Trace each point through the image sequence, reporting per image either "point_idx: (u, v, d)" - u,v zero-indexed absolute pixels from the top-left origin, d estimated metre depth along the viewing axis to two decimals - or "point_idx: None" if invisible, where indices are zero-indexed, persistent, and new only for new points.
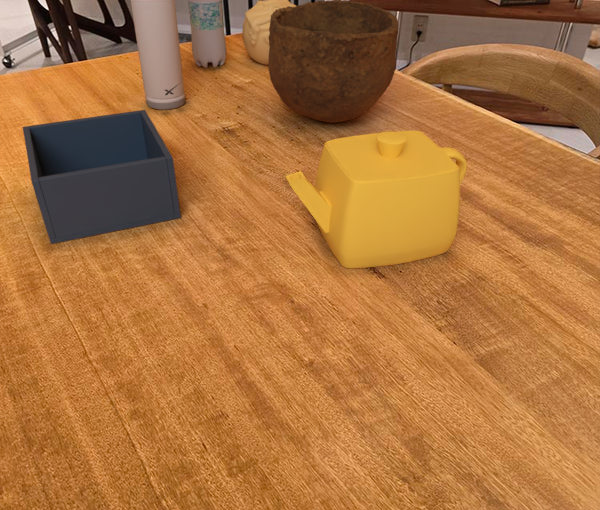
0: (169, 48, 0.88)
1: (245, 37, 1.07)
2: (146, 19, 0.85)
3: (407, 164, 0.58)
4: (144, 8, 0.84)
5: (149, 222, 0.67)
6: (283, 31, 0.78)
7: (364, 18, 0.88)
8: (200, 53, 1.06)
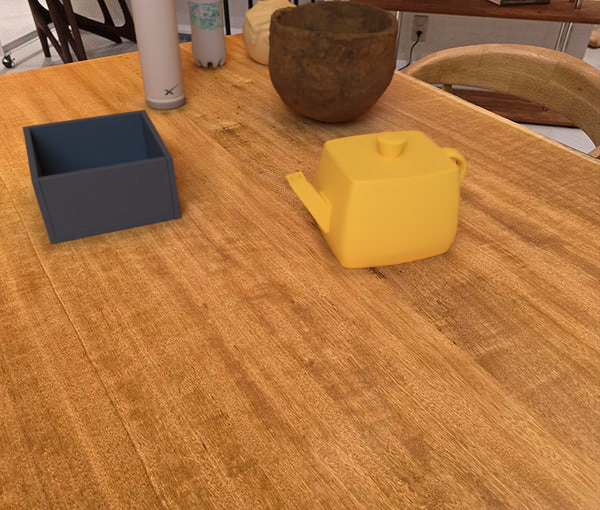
0: (169, 48, 0.88)
1: (245, 37, 1.07)
2: (146, 19, 0.85)
3: (407, 164, 0.58)
4: (144, 8, 0.84)
5: (149, 222, 0.67)
6: (283, 31, 0.78)
7: (364, 18, 0.88)
8: (200, 53, 1.06)
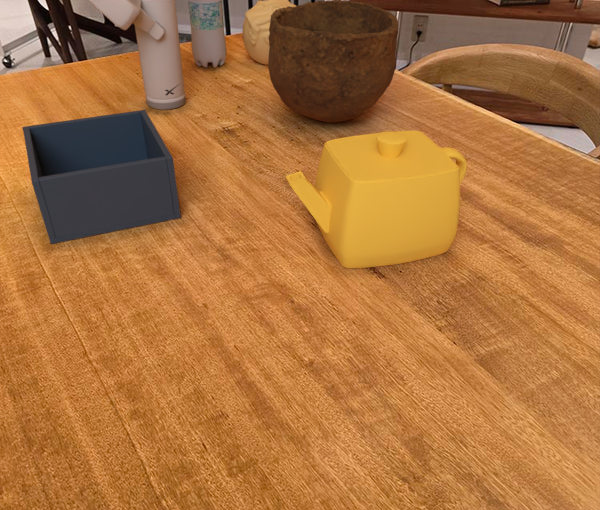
0: (170, 48, 0.88)
1: (245, 37, 1.07)
2: None
3: (407, 164, 0.58)
4: (144, 8, 0.84)
5: (149, 222, 0.67)
6: (283, 31, 0.78)
7: (364, 18, 0.88)
8: (200, 53, 1.06)
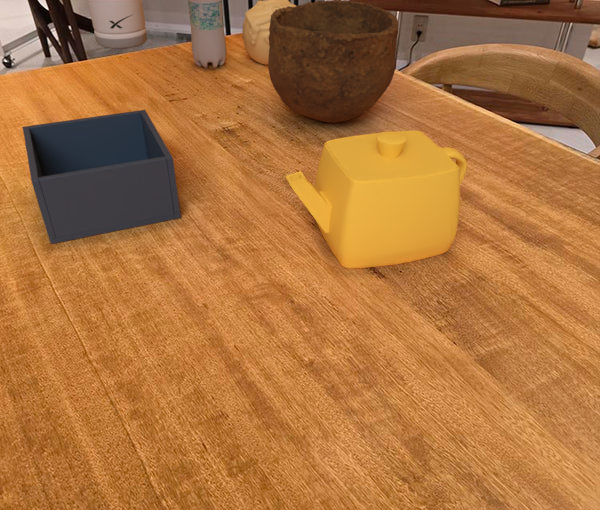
0: None
1: (245, 37, 1.07)
2: None
3: (407, 164, 0.58)
4: None
5: (149, 222, 0.67)
6: (283, 31, 0.78)
7: (364, 18, 0.88)
8: (200, 53, 1.06)
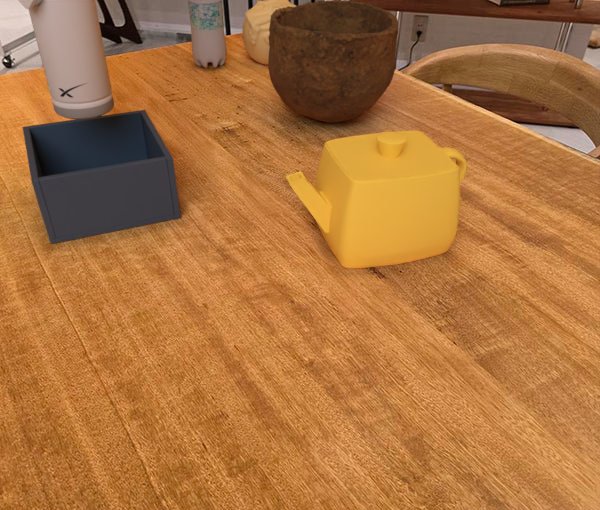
0: (60, 26, 0.56)
1: (245, 37, 1.07)
2: None
3: (407, 164, 0.58)
4: None
5: (149, 222, 0.67)
6: (283, 31, 0.78)
7: (364, 18, 0.88)
8: (200, 53, 1.06)
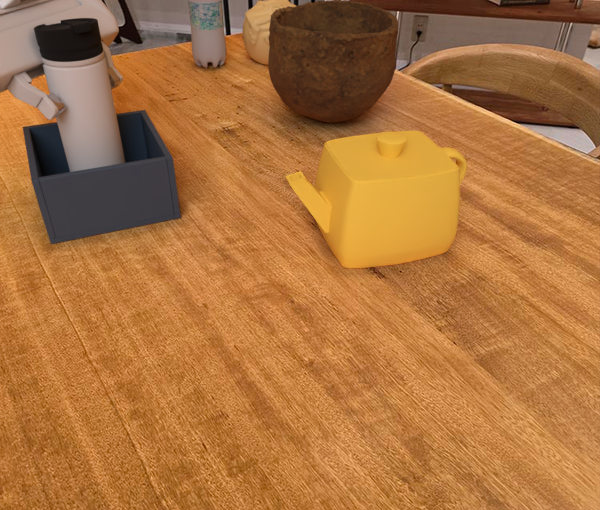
0: (84, 134, 0.63)
1: (245, 37, 1.07)
2: (52, 92, 0.61)
3: (407, 164, 0.58)
4: (48, 78, 0.60)
5: (149, 222, 0.67)
6: (283, 31, 0.78)
7: (364, 18, 0.88)
8: (200, 53, 1.06)
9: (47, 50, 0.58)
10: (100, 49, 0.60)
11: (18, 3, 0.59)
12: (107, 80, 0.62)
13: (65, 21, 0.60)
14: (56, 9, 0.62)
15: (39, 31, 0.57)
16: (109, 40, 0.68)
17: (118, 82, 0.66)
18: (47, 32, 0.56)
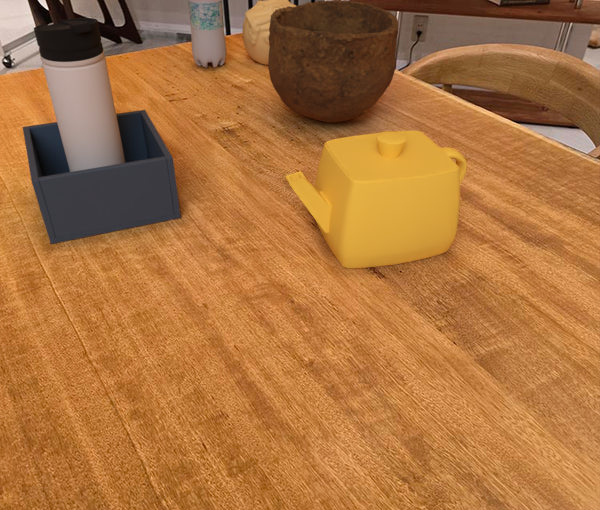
0: (84, 134, 0.63)
1: (245, 37, 1.07)
2: (52, 92, 0.61)
3: (407, 164, 0.58)
4: (48, 78, 0.60)
5: (149, 222, 0.67)
6: (283, 31, 0.78)
7: (364, 18, 0.88)
8: (200, 53, 1.06)
9: (47, 50, 0.58)
10: (100, 49, 0.60)
11: None
12: (107, 80, 0.62)
13: (65, 21, 0.60)
14: None
15: (39, 31, 0.57)
16: None
17: None
18: (47, 32, 0.56)
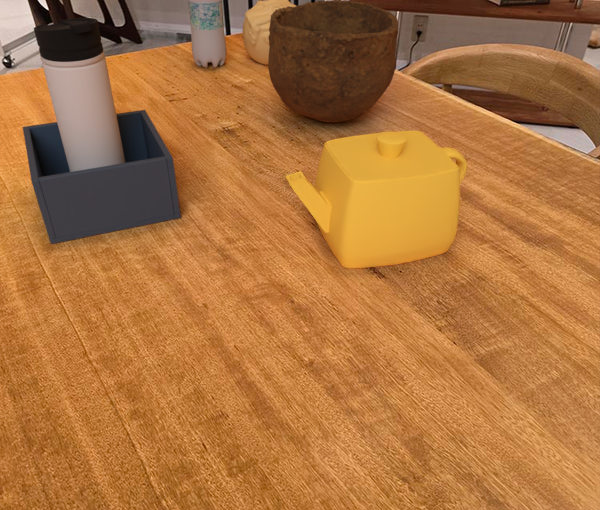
0: (84, 134, 0.63)
1: (245, 37, 1.07)
2: (52, 92, 0.61)
3: (407, 164, 0.58)
4: (48, 78, 0.60)
5: (149, 222, 0.67)
6: (283, 31, 0.78)
7: (364, 18, 0.88)
8: (200, 53, 1.06)
9: (47, 50, 0.58)
10: (100, 49, 0.60)
11: None
12: (107, 80, 0.62)
13: (65, 21, 0.60)
14: None
15: (39, 31, 0.57)
16: None
17: None
18: (47, 32, 0.56)
